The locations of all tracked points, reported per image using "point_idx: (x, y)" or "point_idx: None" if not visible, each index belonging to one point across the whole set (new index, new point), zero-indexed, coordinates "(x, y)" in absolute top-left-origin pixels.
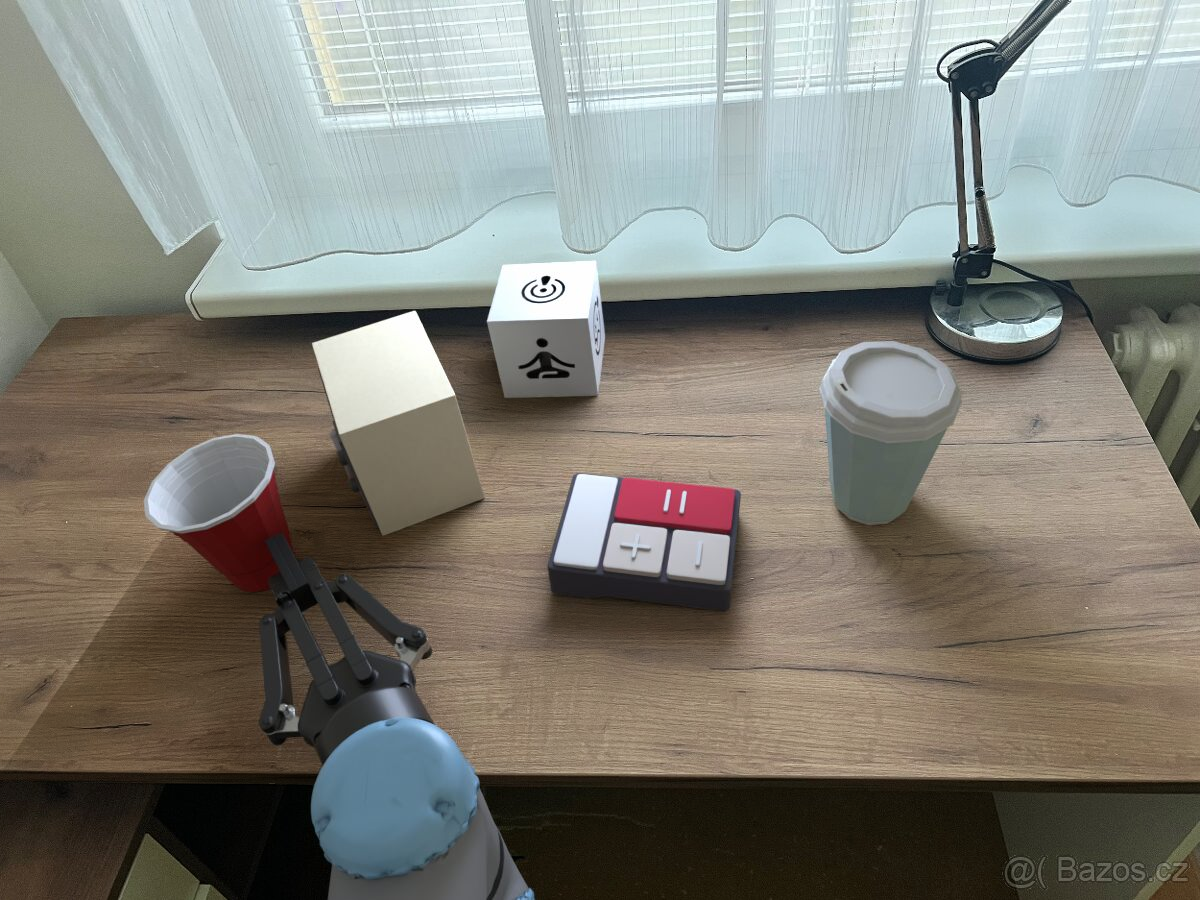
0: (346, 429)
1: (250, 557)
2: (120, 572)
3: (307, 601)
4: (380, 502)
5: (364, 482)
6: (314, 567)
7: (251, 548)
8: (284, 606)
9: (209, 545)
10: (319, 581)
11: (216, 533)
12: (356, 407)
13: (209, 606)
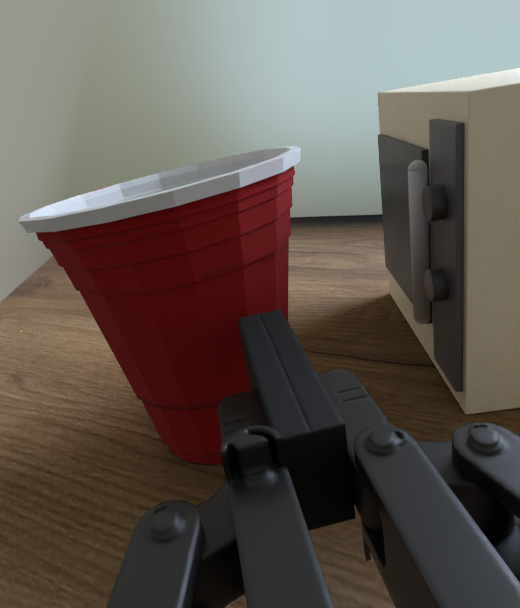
0: (485, 87)
1: (198, 365)
2: (27, 390)
3: (322, 499)
4: (491, 326)
5: (477, 259)
6: (360, 394)
7: (204, 339)
8: (246, 487)
9: (116, 300)
10: (386, 429)
11: (131, 255)
12: (494, 82)
13: (107, 469)
